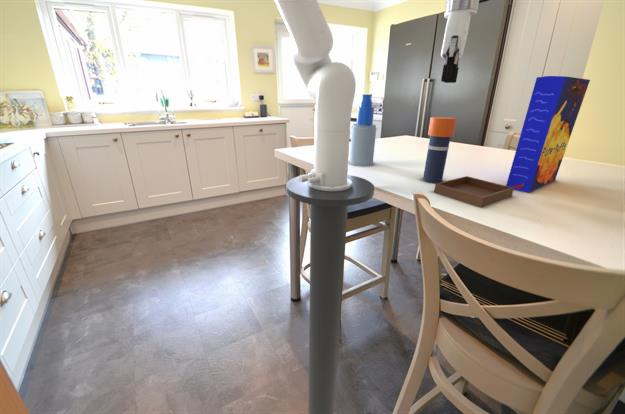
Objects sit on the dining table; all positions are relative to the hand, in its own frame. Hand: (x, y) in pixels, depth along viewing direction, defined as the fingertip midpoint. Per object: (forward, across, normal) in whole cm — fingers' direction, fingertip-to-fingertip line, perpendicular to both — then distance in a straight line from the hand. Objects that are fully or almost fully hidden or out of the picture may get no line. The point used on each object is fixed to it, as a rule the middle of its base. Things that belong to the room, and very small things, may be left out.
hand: (448, 82), depth 79 cm
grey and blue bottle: (+28, -11, -27) cm, 41 cm away
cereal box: (+29, -12, +28) cm, 42 cm away
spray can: (+28, 0, 0) cm, 29 cm away
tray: (+28, +8, +11) cm, 32 cm away
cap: (+14, 0, 0) cm, 15 cm away
